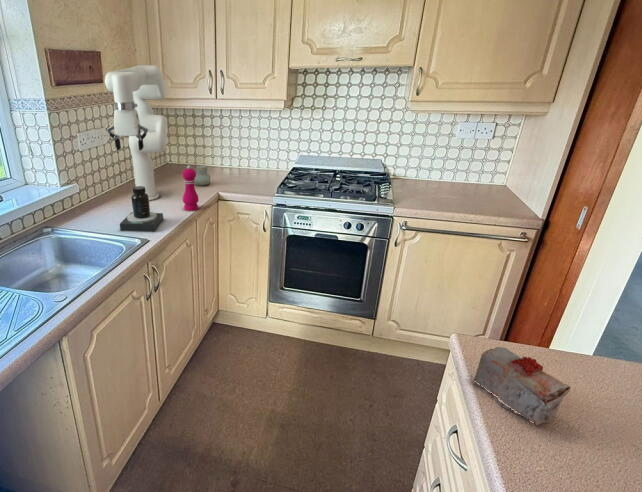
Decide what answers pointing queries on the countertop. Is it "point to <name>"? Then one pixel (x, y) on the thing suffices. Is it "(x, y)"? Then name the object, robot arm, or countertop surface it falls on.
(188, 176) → the pepper mill
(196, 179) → the air freshener
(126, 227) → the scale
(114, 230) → the countertop surface
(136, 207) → the supplement bottle
